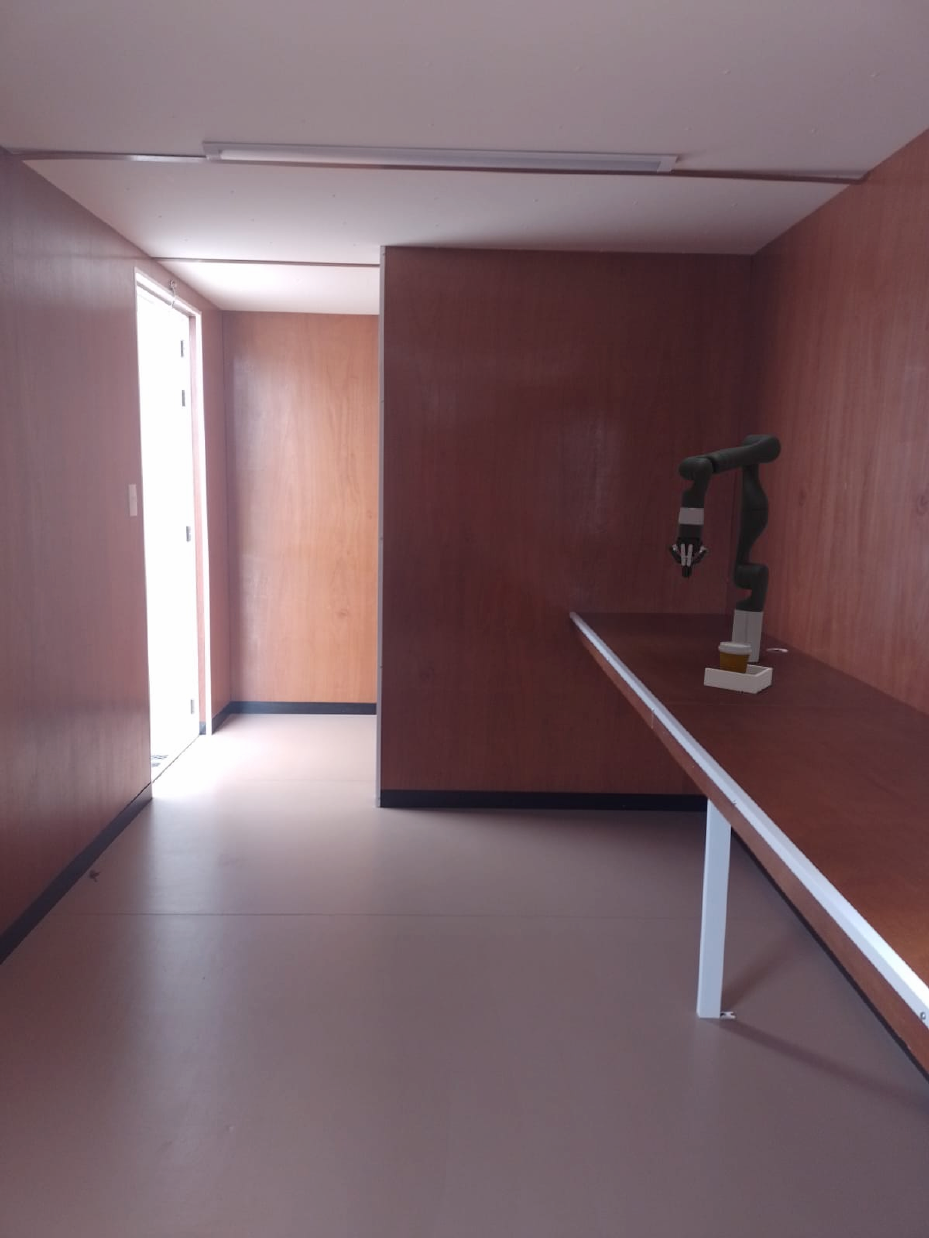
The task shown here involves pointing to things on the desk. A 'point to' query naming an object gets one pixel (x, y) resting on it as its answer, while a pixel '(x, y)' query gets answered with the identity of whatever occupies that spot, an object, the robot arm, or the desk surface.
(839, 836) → the desk surface
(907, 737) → the desk surface
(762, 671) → the grey bay
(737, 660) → the disposable coffee cup
